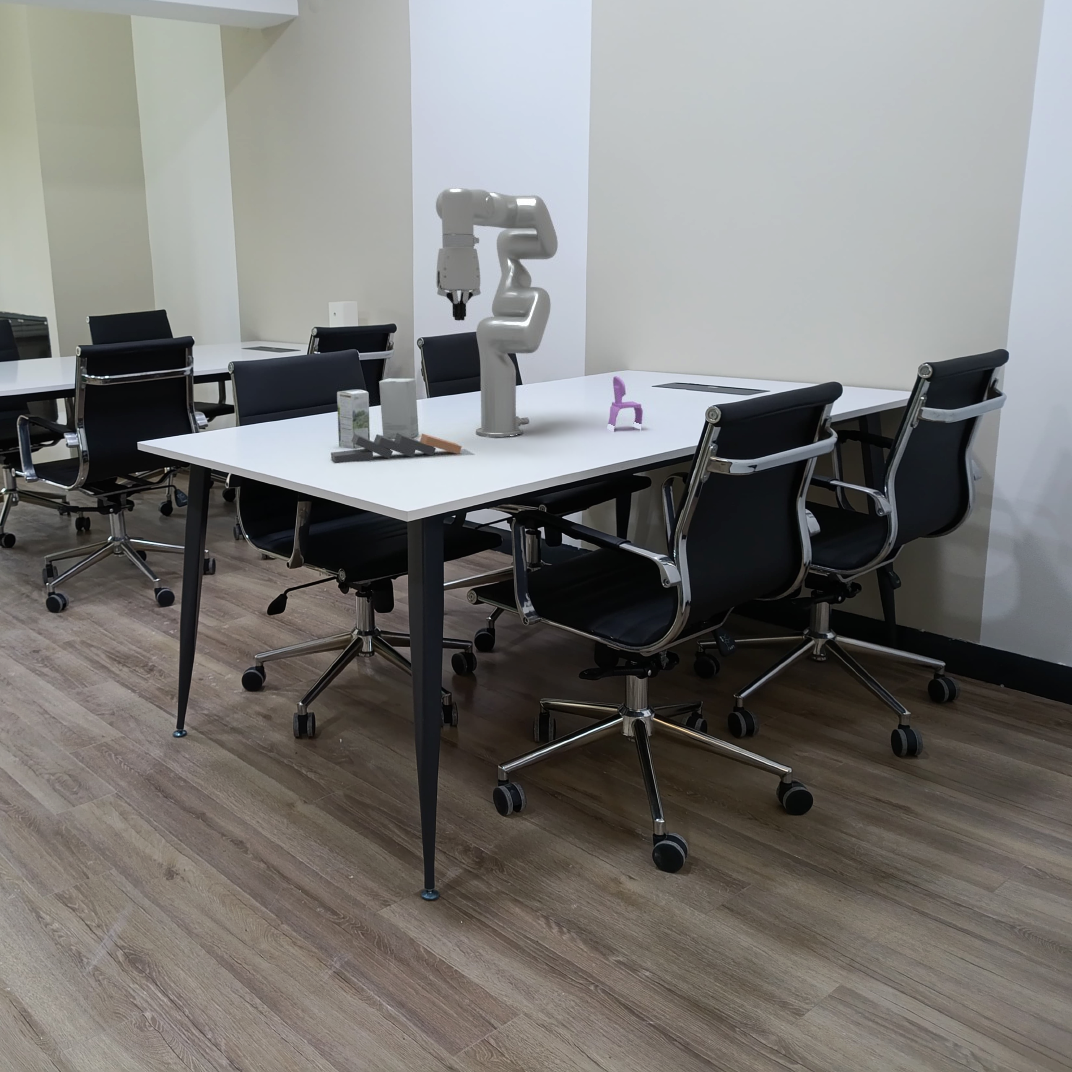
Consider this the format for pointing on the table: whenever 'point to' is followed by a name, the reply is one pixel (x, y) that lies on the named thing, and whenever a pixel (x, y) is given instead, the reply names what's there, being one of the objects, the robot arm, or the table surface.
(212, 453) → the table surface
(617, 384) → the toy chair
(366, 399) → the syrup box
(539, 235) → the robot arm
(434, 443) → the domino
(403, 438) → the domino
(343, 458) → the domino
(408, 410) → the skincare box
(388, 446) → the domino
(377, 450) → the domino
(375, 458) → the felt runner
